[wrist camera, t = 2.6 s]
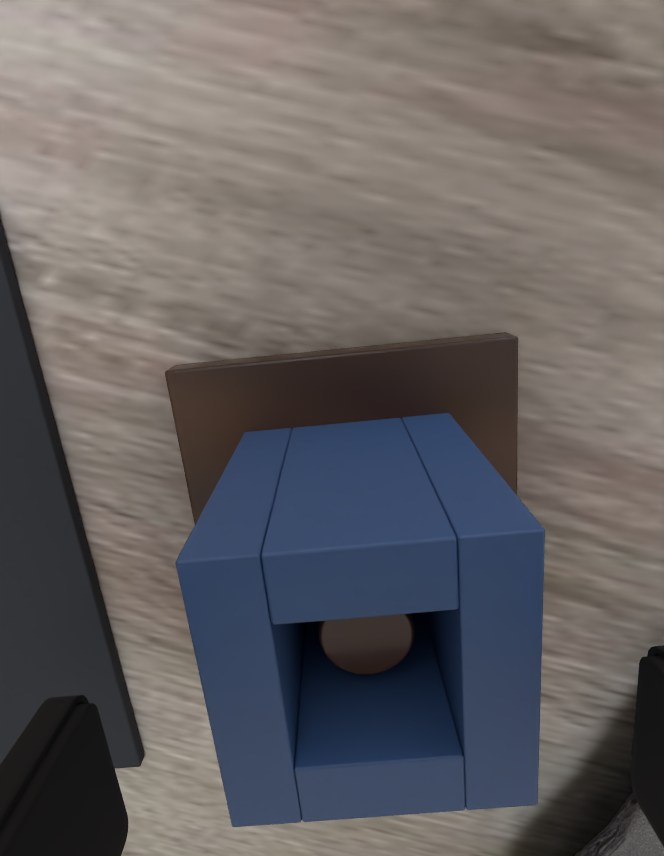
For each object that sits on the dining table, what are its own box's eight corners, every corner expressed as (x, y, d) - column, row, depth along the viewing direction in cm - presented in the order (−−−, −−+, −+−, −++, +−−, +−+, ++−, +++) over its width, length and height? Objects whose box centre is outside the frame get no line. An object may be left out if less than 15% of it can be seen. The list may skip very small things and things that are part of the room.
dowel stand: (173, 364, 15) (67, 428, 9) (507, 331, 15) (630, 374, 9) (226, 640, 18) (173, 829, 12) (506, 617, 18) (598, 798, 12)
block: (244, 431, 15) (174, 561, 8) (449, 412, 15) (545, 529, 8) (271, 605, 17) (231, 828, 10) (455, 590, 17) (538, 806, 10)
